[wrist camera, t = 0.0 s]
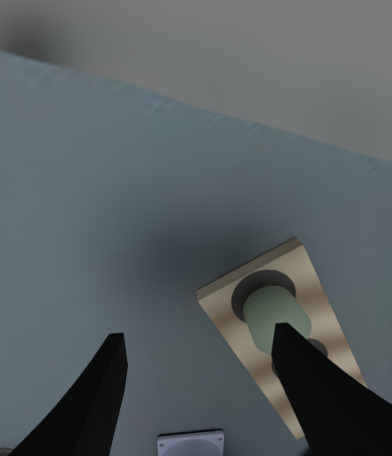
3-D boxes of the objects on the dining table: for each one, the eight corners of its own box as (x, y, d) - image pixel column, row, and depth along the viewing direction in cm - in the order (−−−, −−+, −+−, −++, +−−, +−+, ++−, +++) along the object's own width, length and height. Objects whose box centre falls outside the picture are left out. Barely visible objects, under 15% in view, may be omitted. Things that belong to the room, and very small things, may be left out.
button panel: (365, 392, 30) (376, 405, 28) (291, 425, 31) (297, 440, 29) (294, 237, 21) (303, 245, 20) (196, 290, 23) (197, 301, 21)
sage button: (302, 313, 21) (319, 338, 18) (256, 336, 21) (267, 363, 19) (282, 276, 19) (299, 297, 17) (233, 302, 20) (242, 326, 17)
